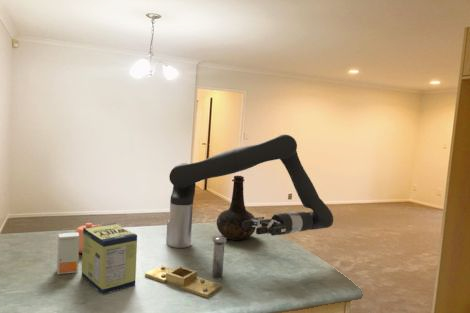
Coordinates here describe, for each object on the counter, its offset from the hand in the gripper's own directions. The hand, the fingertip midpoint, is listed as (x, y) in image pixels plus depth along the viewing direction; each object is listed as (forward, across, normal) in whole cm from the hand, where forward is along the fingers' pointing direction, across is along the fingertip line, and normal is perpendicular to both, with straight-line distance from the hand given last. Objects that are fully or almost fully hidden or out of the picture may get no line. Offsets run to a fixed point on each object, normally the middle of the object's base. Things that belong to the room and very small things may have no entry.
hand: (249, 227), depth 120 cm
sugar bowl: (+45, -40, +15) cm, 62 cm away
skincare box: (+54, -22, +15) cm, 60 cm away
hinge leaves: (+24, -1, +15) cm, 28 cm away
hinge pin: (+12, 0, +15) cm, 19 cm away
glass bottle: (-16, -35, +16) cm, 41 cm away
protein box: (+44, -10, +15) cm, 48 cm away
